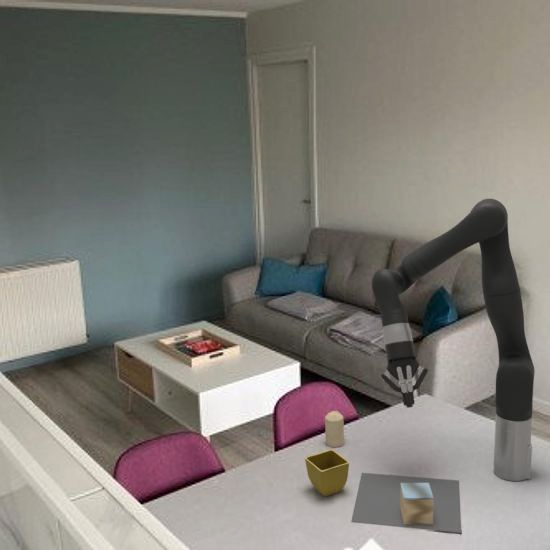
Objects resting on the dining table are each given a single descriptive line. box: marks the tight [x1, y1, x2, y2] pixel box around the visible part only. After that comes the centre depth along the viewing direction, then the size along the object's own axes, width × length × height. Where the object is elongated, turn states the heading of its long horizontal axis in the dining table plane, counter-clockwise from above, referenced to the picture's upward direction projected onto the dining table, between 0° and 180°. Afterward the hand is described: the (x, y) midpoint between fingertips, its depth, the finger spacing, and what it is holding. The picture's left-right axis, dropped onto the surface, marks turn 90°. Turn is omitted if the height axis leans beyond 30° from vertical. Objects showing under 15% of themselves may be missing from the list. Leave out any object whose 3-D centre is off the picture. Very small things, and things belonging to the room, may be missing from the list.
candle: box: [324, 410, 345, 448], centre depth 209 cm, size 6×6×10 cm
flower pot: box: [304, 449, 350, 497], centre depth 183 cm, size 9×9×9 cm
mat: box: [350, 472, 462, 535], centre depth 177 cm, size 26×24×1 cm
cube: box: [400, 483, 433, 524], centre depth 170 cm, size 7×7×7 cm
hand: (409, 407), depth 182 cm, fingers closed
